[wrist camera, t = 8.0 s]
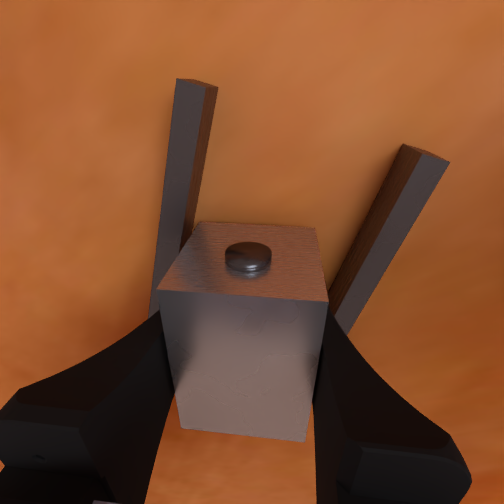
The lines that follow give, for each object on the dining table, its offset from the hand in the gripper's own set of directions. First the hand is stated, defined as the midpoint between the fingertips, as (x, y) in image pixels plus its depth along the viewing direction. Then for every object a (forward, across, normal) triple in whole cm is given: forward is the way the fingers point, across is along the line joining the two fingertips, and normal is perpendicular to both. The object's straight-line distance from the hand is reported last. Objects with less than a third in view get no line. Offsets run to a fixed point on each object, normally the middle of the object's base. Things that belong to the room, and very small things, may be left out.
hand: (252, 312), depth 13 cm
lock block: (+2, 0, 0) cm, 2 cm away
